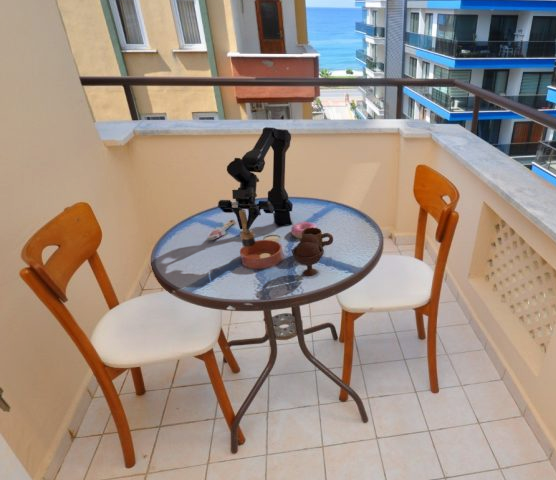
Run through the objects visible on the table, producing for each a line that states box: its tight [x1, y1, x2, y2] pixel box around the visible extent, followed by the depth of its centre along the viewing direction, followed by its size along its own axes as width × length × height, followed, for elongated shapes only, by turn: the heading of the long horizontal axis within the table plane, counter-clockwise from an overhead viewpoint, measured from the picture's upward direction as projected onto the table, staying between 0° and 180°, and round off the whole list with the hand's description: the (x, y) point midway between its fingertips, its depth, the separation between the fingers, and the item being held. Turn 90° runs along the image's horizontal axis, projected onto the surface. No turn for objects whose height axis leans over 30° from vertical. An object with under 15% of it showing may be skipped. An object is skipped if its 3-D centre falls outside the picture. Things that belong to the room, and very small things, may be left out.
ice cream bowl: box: [291, 234, 325, 277], centre depth 144 cm, size 11×11×15 cm
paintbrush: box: [206, 219, 236, 241], centre depth 175 cm, size 4×3×20 cm
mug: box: [302, 227, 334, 249], centre depth 158 cm, size 12×8×9 cm, turn 82°
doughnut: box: [290, 221, 318, 239], centre depth 174 cm, size 11×11×4 cm
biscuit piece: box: [259, 253, 270, 258], centre depth 156 cm, size 4×4×1 cm
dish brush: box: [239, 209, 256, 247], centre depth 150 cm, size 5×5×13 cm
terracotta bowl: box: [239, 239, 284, 270], centre depth 156 cm, size 15×15×4 cm
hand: (244, 229), depth 149 cm, fingers closed on dish brush, 2 cm apart
